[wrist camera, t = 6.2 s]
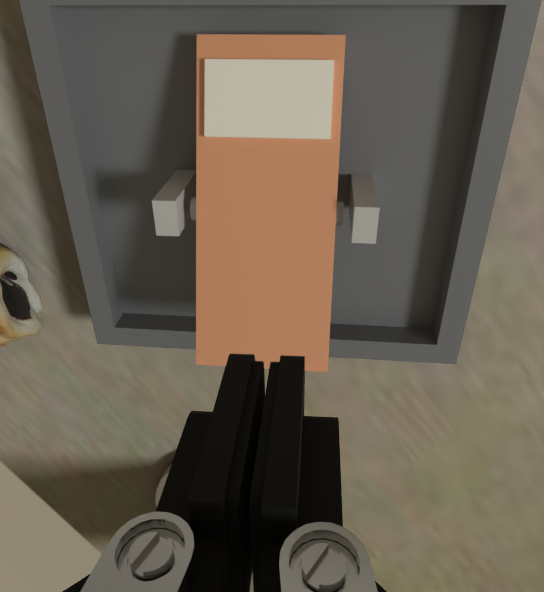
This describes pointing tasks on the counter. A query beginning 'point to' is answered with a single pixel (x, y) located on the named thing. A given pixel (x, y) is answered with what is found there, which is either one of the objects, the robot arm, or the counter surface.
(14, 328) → the pastry
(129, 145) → the breaker panel
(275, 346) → the rocker
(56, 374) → the counter surface
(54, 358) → the counter surface
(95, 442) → the counter surface
